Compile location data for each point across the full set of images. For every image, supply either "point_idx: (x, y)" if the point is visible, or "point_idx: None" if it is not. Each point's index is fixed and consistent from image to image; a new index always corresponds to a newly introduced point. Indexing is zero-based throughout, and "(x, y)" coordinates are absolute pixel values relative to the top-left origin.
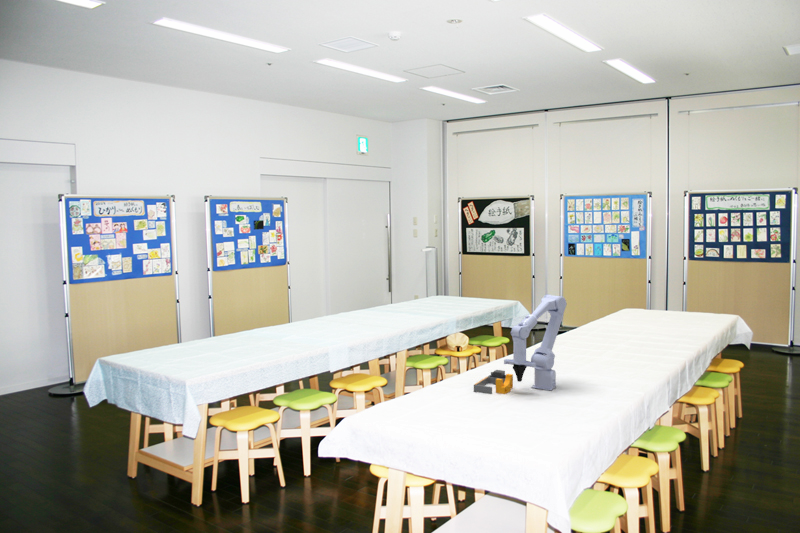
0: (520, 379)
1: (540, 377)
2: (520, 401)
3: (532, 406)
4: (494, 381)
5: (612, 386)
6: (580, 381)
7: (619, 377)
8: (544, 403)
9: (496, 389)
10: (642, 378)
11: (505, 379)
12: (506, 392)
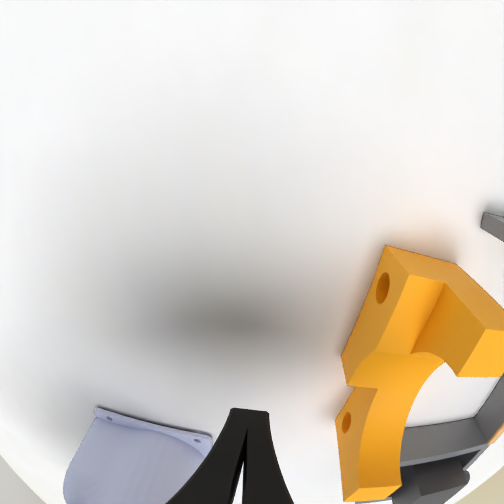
0: (223, 427)
1: (133, 483)
2: (169, 71)
3: (62, 17)
4: (451, 434)
5: (12, 437)
6: None
7: (55, 486)
8: (13, 134)
9: (466, 276)
10: (25, 472)
11: (399, 448)
12: (371, 290)
